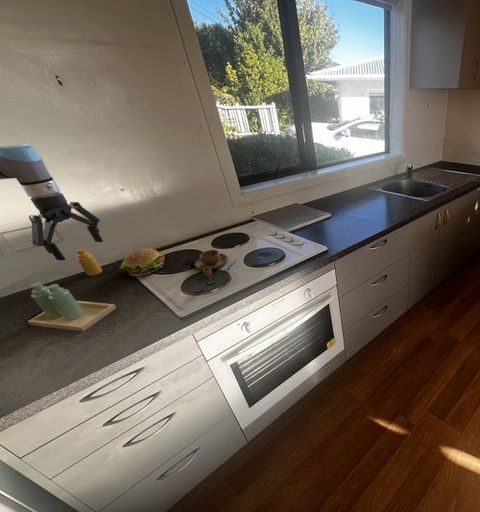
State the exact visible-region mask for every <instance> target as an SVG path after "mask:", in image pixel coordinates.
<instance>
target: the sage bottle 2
mask: <svg viewBox="0 0 480 512" xmlns="http://www.w3.org/2000/svg"><path fill="white" fill-rule="evenodd" d="M47 288H48V289H49V291H50V292H49V293H48V294H49V296H48V299H49V300H50V301H51V303H52V304H53V305H54V306H55V308H56V309H57V310H58V312H59V313H60V314H61V315H62V317H63V318H64V319H65V320H66V321H72V320H75V319H78V318H80V317H81V316H83V315H84V311H83V310H82V308H81V307H80V305H79V304H78V303H77V301H78V300H76V298H75V297H74V296H73V294H72V293H71V291H70V290H69V289H65V287H61V286H60V285H59V284H58V283H53V284H50V285H49V286H47Z"/></svg>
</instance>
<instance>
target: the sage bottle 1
mask: <svg viewBox="0 0 480 512" xmlns="http://www.w3.org/2000/svg"><path fill="white" fill-rule="evenodd" d="M47 287H48V286H47V285H43V283H42V282H40V281H39V282H34V283H33V284H31V285H30V288H31V289H32V290H31V295H30V297H31V298H32V299H33V300H34V302H35V304H37V306H38V307H39V308H40V309H41V310H42V313H43V312H44V313H45V314H46V315H47V316H48V318H49V319H57V318H60V317H62V315H61V314H60V313H59V312H58V310H57V309H56V308H55V306H54V305H53V304H52V303H51V301H50V300H49V299H48V296H49V294H48V293H49V292H50V291H49V289H48V288H47Z"/></svg>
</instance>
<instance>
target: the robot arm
mask: <svg viewBox="0 0 480 512" xmlns="http://www.w3.org/2000/svg"><path fill="white" fill-rule="evenodd" d="M7 179H8V180H9V179H16V181H17V182H18V183H19V185H20V186H21V187H22V189H23V191H24V192H25V194H26V195H27V197H30V201H31V202H32V204H33V205H34V207H35V209H37V210H38V211H39V214H31V215H29V216H28V219H29V220H30V223H31V237H32V240H31V241H32V246H37V247H42V246H43V248H44V249H45V250H46V252H47V253H48V254H52V255H53V257H54V258H55V260H56V261H66V258H65V256H64V255H63V253H62V252H61V251H60V249H59V247H58V246H57V244H56V243H55V242H52V240H53V237H54V233H55V230H56V226H58V223H62V222H64V221H67V220H69V219H71V220H74V221H77V222H80V223H81V224H85V225H86V228H87V230H88V232H89V233H90V235H91V237H92V239H93V240H94V242H95V243H103V242H104V240H103V238H102V236H101V235H100V232H101V231H100V229H99V227H98V225H99V223H100V222H101V220H100V218H99V217H98V216H96V215H94V214H93V213H91V212H90V211H89V210H87V209H86V208H84V207H83V206H82V205H81V203H80V202H78V201H70V202H69V203H68V200H67V199H66V197H65V196H64V194H63V193H62V192H60V191H61V189H60V188H59V186H58V184H57V182H56V180H55V179H54V178H53V176H52V175H51V173H50V172H49V170H48V168H47V166H46V165H45V163H44V161H43V158H42V157H41V156H40V154H38V152H37V150H36V149H35V148H34V147H33V146H32V145H30V144H10V145H3V146H0V180H7ZM72 210H75V211H76V212H77V213H79V214H81V215H82V216H81V215H78V214H77V213H74V212H72ZM43 220H44V222H43ZM87 225H88V226H87Z"/></svg>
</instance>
